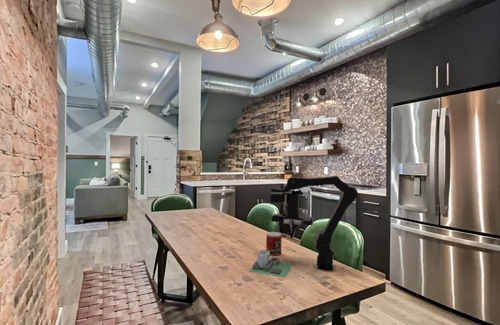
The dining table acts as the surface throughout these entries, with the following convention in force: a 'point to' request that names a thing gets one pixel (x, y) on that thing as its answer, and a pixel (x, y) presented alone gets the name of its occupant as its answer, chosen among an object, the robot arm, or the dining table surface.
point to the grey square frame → (265, 268)
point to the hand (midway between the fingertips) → (291, 237)
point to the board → (275, 268)
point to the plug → (263, 258)
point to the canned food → (274, 243)
